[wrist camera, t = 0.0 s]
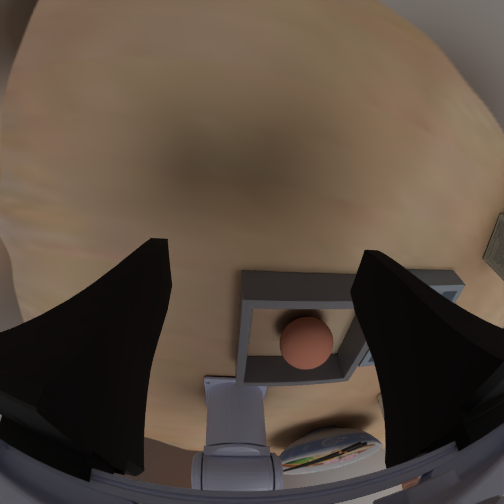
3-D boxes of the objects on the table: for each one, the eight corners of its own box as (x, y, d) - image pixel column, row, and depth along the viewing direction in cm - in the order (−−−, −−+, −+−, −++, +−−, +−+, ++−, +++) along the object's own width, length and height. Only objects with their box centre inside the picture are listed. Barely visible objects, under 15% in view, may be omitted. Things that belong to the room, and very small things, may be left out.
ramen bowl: (312, 451, 56) (316, 477, 49) (243, 443, 48) (244, 476, 41) (396, 413, 46) (405, 443, 39) (338, 400, 38) (348, 444, 31)
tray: (410, 343, 30) (417, 357, 28) (353, 350, 30) (358, 366, 27) (453, 270, 24) (465, 284, 22) (392, 269, 23) (403, 286, 21)
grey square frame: (340, 357, 30) (347, 380, 27) (235, 359, 29) (235, 385, 26) (379, 274, 23) (394, 300, 20) (242, 270, 22) (242, 299, 19)
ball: (319, 338, 28) (329, 377, 24) (273, 339, 27) (278, 380, 23) (332, 305, 25) (346, 346, 21) (281, 305, 25) (288, 348, 21)
